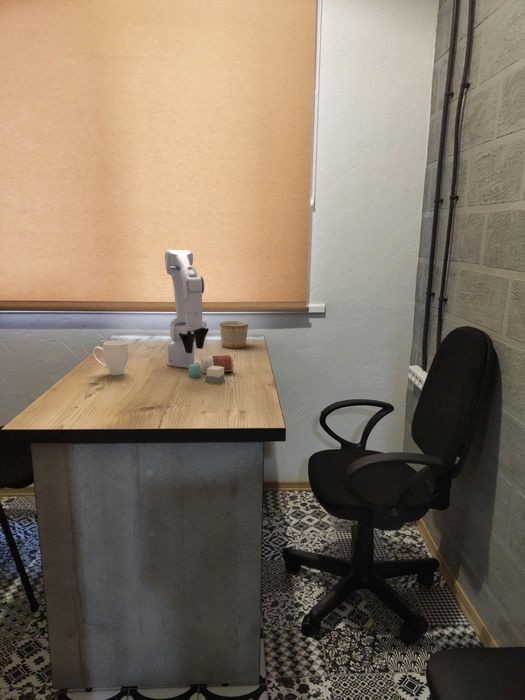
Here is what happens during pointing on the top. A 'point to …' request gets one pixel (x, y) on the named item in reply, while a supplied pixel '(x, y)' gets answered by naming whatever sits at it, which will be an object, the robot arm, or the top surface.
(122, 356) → the mug
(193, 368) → the teal cylinder
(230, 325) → the planter
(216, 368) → the tower top block
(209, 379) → the tower base block
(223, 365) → the pill bottle
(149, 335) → the top surface
